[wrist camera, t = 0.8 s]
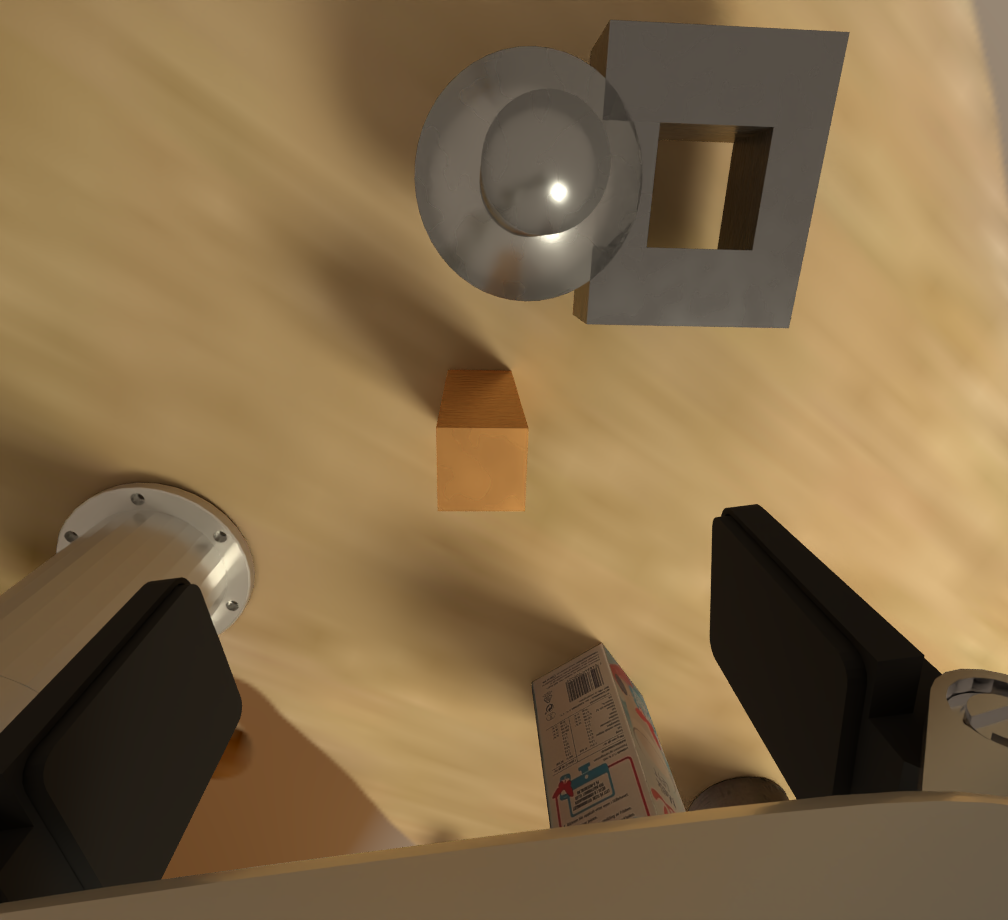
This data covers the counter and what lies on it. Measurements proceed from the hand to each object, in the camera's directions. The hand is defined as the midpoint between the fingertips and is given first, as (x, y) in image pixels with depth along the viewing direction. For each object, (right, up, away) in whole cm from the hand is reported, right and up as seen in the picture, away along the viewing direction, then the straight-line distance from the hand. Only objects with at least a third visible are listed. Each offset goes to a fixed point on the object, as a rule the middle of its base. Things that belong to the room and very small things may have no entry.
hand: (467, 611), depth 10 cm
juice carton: (+7, -16, +35) cm, 39 cm away
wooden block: (-1, +7, +26) cm, 27 cm away
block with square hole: (+5, +18, +22) cm, 29 cm away
